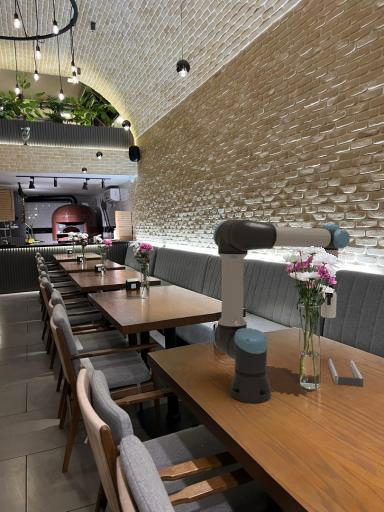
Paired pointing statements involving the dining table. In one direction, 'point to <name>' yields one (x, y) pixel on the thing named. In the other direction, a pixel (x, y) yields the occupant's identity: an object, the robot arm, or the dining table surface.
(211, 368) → the dining table surface
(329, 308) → the can
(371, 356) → the dining table surface
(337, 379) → the grey flat u-shaped frame
